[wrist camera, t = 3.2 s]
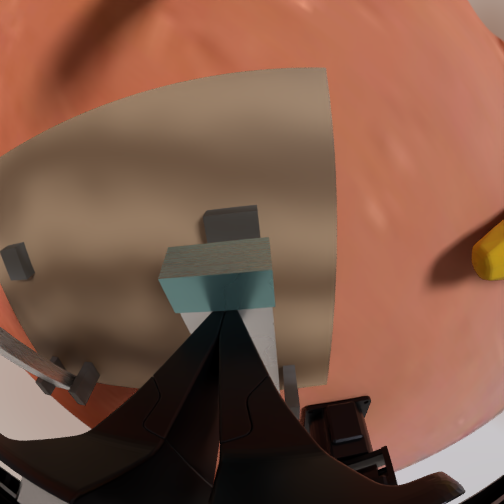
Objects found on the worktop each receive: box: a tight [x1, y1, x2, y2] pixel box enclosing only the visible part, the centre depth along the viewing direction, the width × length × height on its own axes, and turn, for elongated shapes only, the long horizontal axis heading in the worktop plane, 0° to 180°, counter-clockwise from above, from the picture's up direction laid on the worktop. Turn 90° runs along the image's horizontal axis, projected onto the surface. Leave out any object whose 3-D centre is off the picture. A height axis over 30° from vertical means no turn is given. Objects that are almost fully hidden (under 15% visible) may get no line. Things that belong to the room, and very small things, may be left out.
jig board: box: [0, 68, 337, 419], centre depth 14 cm, size 20×26×6 cm
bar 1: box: [0, 327, 76, 390], centre depth 12 cm, size 13×3×1 cm, turn 6°
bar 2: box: [158, 237, 280, 394], centre depth 12 cm, size 13×3×1 cm, turn 6°
